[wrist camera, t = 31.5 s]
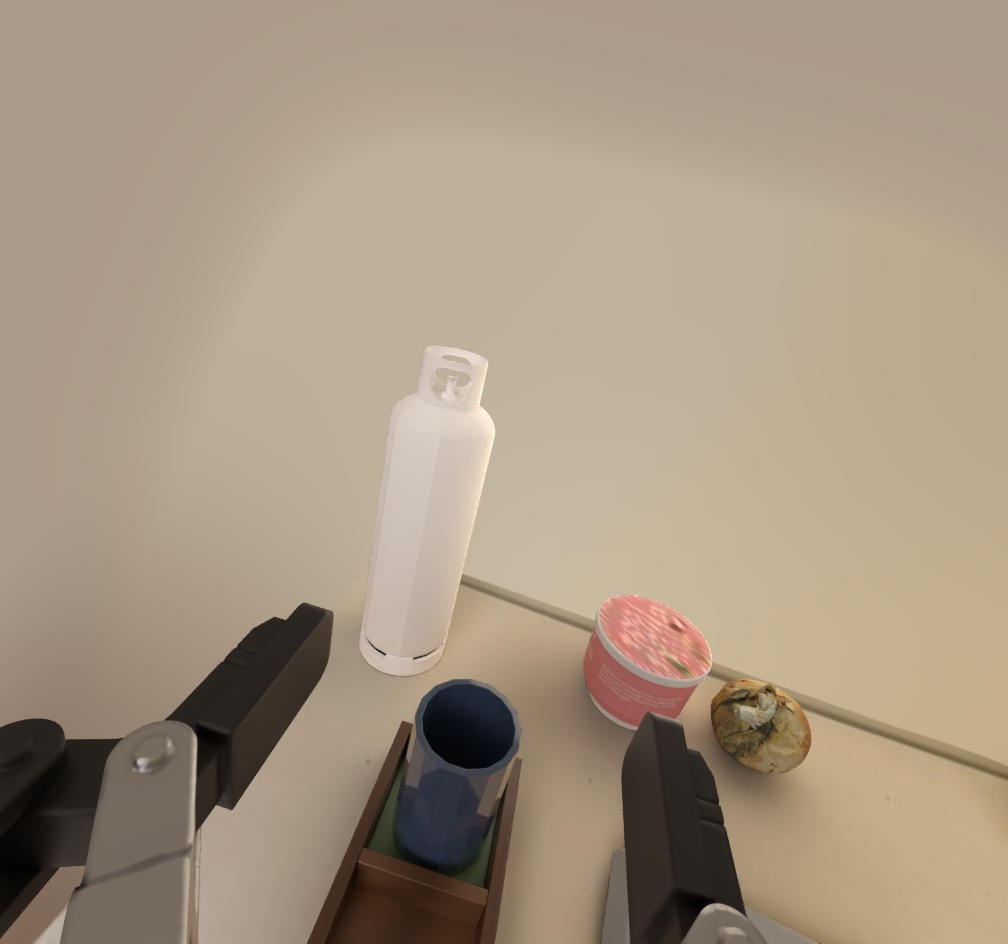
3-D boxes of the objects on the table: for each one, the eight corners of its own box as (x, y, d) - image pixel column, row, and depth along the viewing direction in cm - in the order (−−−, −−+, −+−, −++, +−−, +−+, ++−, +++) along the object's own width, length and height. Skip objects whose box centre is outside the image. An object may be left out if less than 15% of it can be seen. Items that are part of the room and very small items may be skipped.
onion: (796, 810, 40) (845, 746, 37) (698, 761, 42) (737, 697, 39) (783, 737, 47) (824, 678, 44) (700, 698, 49) (733, 639, 46)
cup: (376, 860, 30) (399, 753, 26) (411, 766, 35) (434, 667, 31) (473, 894, 29) (511, 791, 25) (493, 794, 35) (527, 696, 31)
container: (627, 764, 40) (661, 697, 37) (551, 669, 48) (574, 606, 45) (701, 720, 46) (736, 659, 43) (623, 642, 54) (648, 585, 51)
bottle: (349, 669, 43) (391, 354, 31) (369, 607, 50) (408, 333, 39) (441, 681, 44) (513, 381, 32) (447, 618, 51) (508, 355, 40)
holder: (246, 1108, 21) (247, 1081, 20) (396, 747, 37) (402, 720, 36) (448, 1186, 21) (461, 1164, 19) (512, 785, 37) (522, 759, 35)
